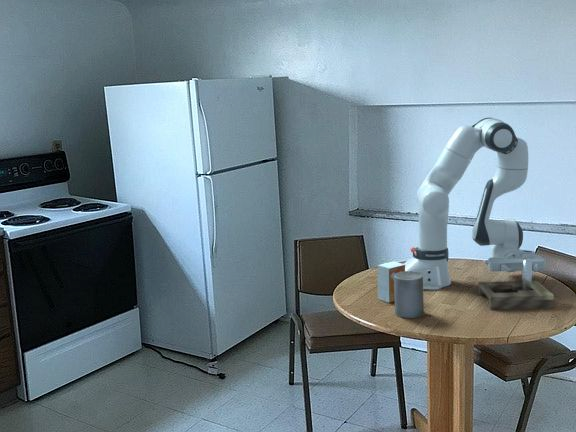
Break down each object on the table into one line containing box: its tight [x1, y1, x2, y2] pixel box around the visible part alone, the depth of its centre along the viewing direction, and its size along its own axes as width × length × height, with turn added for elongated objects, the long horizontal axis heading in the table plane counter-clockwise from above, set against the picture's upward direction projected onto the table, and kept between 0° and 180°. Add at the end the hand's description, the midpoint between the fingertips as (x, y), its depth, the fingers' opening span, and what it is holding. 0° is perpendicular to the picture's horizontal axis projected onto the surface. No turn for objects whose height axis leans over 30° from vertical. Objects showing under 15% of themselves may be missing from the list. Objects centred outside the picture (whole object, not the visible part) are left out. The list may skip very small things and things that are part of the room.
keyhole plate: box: [478, 280, 555, 311], centre depth 223 cm, size 21×17×4 cm
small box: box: [377, 260, 405, 303], centre depth 231 cm, size 8×6×13 cm
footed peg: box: [522, 258, 533, 290], centre depth 222 cm, size 6×6×15 cm
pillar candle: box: [394, 271, 425, 319], centre depth 215 cm, size 10×10×15 cm
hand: (522, 269), depth 227 cm, fingers open, 8 cm apart
